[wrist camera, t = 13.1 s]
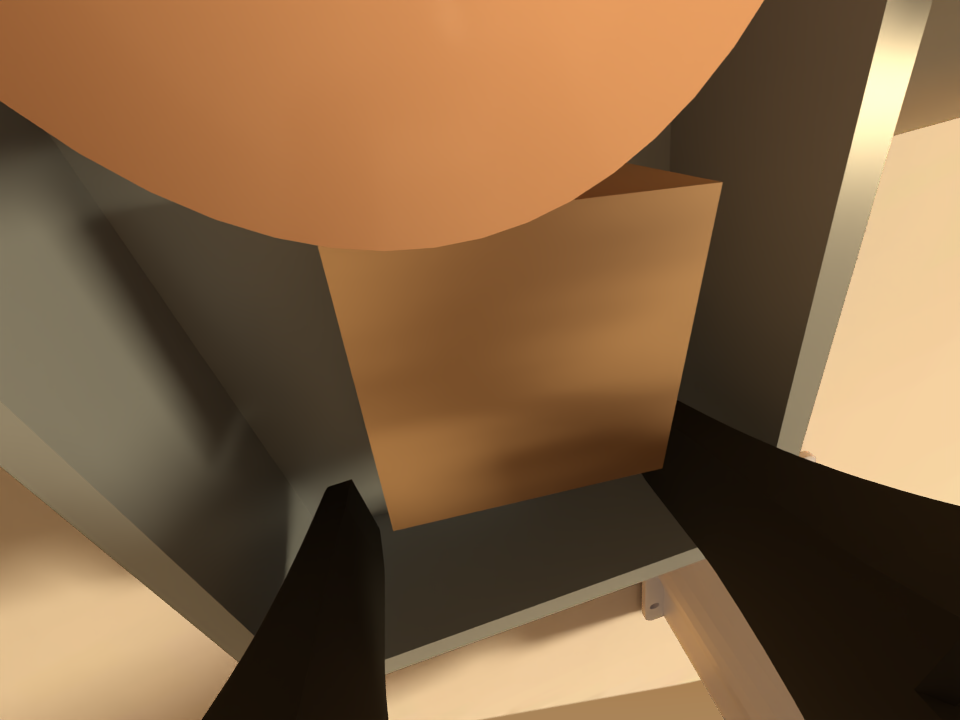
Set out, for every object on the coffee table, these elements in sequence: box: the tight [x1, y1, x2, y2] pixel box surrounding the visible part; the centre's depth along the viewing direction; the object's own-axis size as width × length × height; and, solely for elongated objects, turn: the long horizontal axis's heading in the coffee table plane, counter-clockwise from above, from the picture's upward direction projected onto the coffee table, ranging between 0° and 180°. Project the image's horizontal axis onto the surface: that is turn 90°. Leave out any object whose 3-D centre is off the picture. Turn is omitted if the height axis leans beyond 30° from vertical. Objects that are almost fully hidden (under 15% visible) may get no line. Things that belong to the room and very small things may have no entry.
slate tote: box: [0, 0, 933, 675], centre depth 9 cm, size 17×13×5 cm
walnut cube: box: [318, 163, 723, 531], centre depth 8 cm, size 5×5×5 cm
